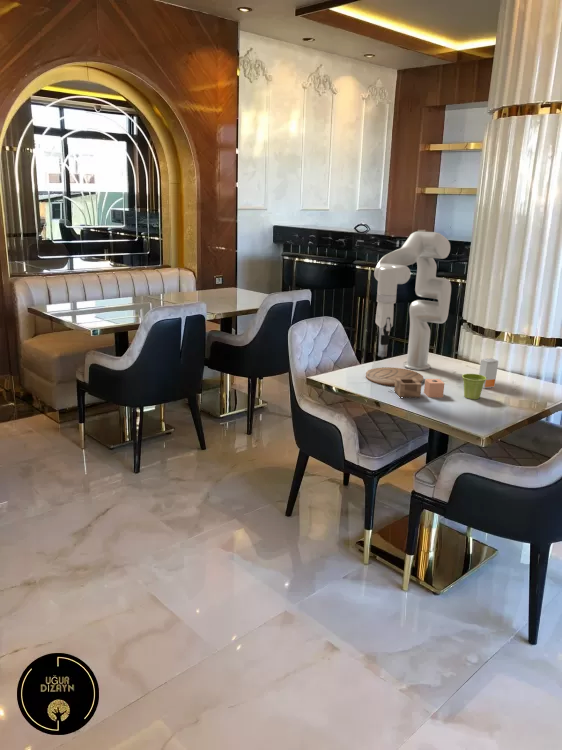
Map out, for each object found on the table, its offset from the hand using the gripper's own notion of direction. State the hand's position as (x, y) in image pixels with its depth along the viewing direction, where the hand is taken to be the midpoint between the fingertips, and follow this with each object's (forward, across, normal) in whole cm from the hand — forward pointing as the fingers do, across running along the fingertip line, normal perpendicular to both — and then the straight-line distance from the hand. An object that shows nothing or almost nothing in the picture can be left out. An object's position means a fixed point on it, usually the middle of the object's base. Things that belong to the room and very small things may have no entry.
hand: (383, 342), depth 250 cm
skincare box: (+21, -4, +48) cm, 52 cm away
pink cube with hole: (+20, +7, +21) cm, 30 cm away
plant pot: (+21, +10, +36) cm, 42 cm away
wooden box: (+20, +7, +10) cm, 23 cm away
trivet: (+21, -16, +10) cm, 29 cm away
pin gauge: (+5, 0, 0) cm, 5 cm away
